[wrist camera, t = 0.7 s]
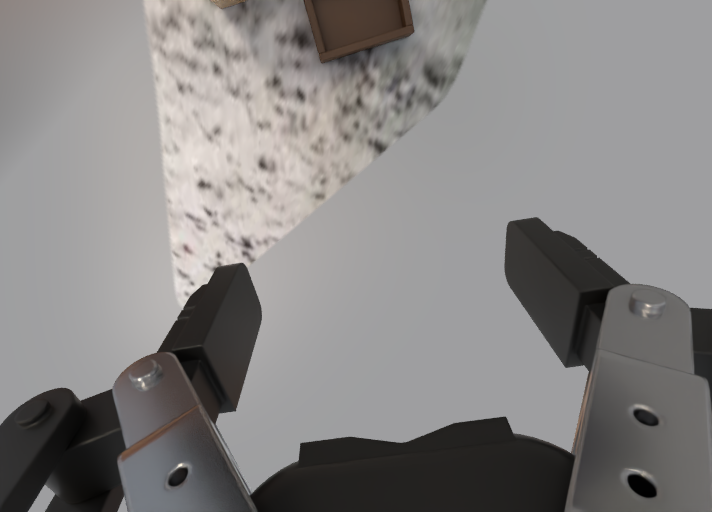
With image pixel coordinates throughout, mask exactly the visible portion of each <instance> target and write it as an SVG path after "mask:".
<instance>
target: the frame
mask: <svg viewBox="0 0 712 512" xmlns="http://www.w3.org/2000/svg"><path fill="white" fill-rule="evenodd" d="M304 3H305V7H306V10H307V14H308V17H309V21H310V25H311V28H312V32H313V35H314V39H315V42H316V46H317V49H318V53H319V56H320V60H321V63H325V62H328V61H331V60H335V59H338V58H341V57H344V56H347V55H351V54H354V53H357V52H360V51H363V50H367V49H370V48H373V47H376V46H379V45H383V44H386V43H389V42H392V41H395V40H399V39H402V38H405V37H408V36H410V35H411V34H413V33H414V27H413V25H412V24H413V22H412V16H411V11H410V5H409V0H304Z"/></svg>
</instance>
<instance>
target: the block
mask: <svg viewBox="0 0 712 512" xmlns="http://www.w3.org/2000/svg"><path fill="white" fill-rule="evenodd" d="M211 1H212V2H213V3H214V4H216V5H217V6H218V7H219V8H221V9H223V8H226V7H229V6H232V5H235V4H238V3H241V2H244V1H247V0H211Z"/></svg>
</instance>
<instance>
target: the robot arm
mask: <svg viewBox="0 0 712 512" xmlns="http://www.w3.org/2000/svg"><path fill="white" fill-rule="evenodd" d="M505 250H506V251H505V275H506V279H507V282H508V284H509V286H510V288H511V289H512V290H513V292H514V294H515V295H516V296H517V298H518V299H519V301H520V302H521V304H522V305H523V307H524V308H525V309H526V311H527V312H528V314H529V315H530V317H531V318H532V320H533V321H534V323H535V324H536V325H537V327H538V328H539V330H540V331H541V333H542V334H543V335H544V337H545V339H546V340H547V341H548V343H549V344H550V346H551V347H552V349H553V350H554V352H555V353H556V355H557V356H558V357H559V359H560V360H561V362H562V363H563V365H564V366H565V367H566V368H568V367H575V366H581V365H585V367H586V368H587V369H588V371H589V374H588V378H587V382H586V387H585V391H584V396H583V401H582V406H581V410H580V415H579V420H578V424H577V429H576V433H575V438H574V443H573V447H572V451H571V453H570V452H568V451H566V450H564V449H562V448H560V447H558V446H556V445H554V444H551V443H549V442H546V441H543V440H540V439H537V438H534V437H530V436H525V435H521V434H513V432H512V430H511V428H510V425H509V423H508V420H507V418H506V417H499V418H491V419H483V420H475V421H467V422H460V423H454V424H451V425H449V426H446V427H444V428H441V429H439V430H436V431H434V432H432V433H429V434H426V435H424V436H421V437H419V438H416V439H414V440H411V441H409V442H404V443H396V442H388V441H380V440H371V439H364V438H356V437H345V438H336V439H329V440H321V441H313V442H306V443H301V444H300V454H299V461H298V462H295V463H292V464H291V465H289V466H287V467H285V468H283V469H281V470H280V471H278V472H277V473H275V474H274V475H272V476H271V477H269V478H268V479H267V480H266V481H265V482H263V483H262V484H261V485H260V486H259V487H258V488H257V489H256V490H255V491H254V492H252V490H251V488H250V487H249V485H248V483H247V482H246V480H245V478H244V476H243V474H242V472H241V470H240V468H239V467H238V465H237V463H236V461H235V459H234V457H233V455H232V454H231V452H230V450H229V448H228V446H227V444H226V443H225V441H224V439H223V437H222V435H221V433H220V431H219V430H218V428H217V426H216V420H217V418H218V414H219V413H226V412H233V411H236V408H237V405H238V401H239V398H240V394H241V391H242V387H243V384H244V380H245V377H246V373H247V370H248V366H249V363H250V359H251V356H252V352H253V349H254V345H255V342H256V339H257V335H258V331H259V328H260V325H261V320H262V311H261V305H260V302H259V299H258V296H257V294H256V291H255V288H254V286H253V283H252V280H251V277H250V275H249V272H248V269H247V267H246V266H245V264H243V263H238V264H231V265H225V266H219V267H217V268H216V270H215V271H214V273H213V275H212V277H211V279H210V280H209V282H208V284H205V285H202V286H201V287H200V288H199V289H198V290H197V291H196V292H194V293H193V294H192V295H191V296H190V298H189V299H188V301H187V303H186V304H185V306H184V308H183V309H184V310H182V311H181V313H180V315H179V316H178V320H177V321H175V323H174V325H173V326H172V328H171V330H170V331H169V333H168V335H167V336H166V338H165V340H164V341H163V343H162V345H161V346H160V348H159V350H158V351H157V353H154V354H151V355H149V356H146V357H143V358H141V359H140V360H138V361H136V362H134V363H133V364H132V365H130V366H129V367H128V368H127V369H125V370H124V372H122V373H121V374H120V376H119V377H118V378H117V380H116V381H115V383H114V386H113V389H111V390H108V391H106V392H103V393H100V394H97V395H95V396H92V397H89V398H87V399H84V400H81V401H80V400H79V399H78V398H77V397H76V395H75V394H74V393H73V392H72V391H71V390H70V389H67V388H57V389H53V390H49V391H46V392H44V393H42V394H39V395H37V396H35V397H33V398H32V399H30V400H29V401H27V402H25V403H24V404H22V405H21V406H20V407H18V408H17V409H16V410H15V411H14V412H12V413H11V414H10V415H9V416H8V417H7V418H6V419H5V420H4V422H3V423H2V424H1V425H0V512H28V510H29V509H30V507H31V506H32V504H33V502H34V501H35V499H36V498H37V496H38V494H39V493H40V491H41V489H42V488H43V486H44V485H46V486H47V487H48V488H50V489H51V490H52V491H53V492H54V493H55V496H54V497H53V499H52V501H51V502H50V504H49V506H48V508H47V509H46V511H45V512H117V511H118V509H119V506H120V504H121V502H122V499H123V497H124V496H125V500H126V505H127V510H128V512H712V309H700V308H689V306H688V305H687V304H686V303H685V302H684V301H683V300H682V299H681V298H680V297H678V296H676V295H675V294H673V293H671V292H669V291H666V290H663V289H661V288H657V287H654V286H649V285H642V284H630V283H629V282H628V281H626V280H625V279H624V278H623V277H622V276H620V275H619V274H618V273H617V272H616V271H614V270H613V269H612V268H611V267H610V266H608V265H607V264H606V263H605V262H604V261H602V260H601V259H600V258H597V255H595V254H594V253H593V252H592V251H591V250H587V247H586V246H584V245H583V244H582V243H581V242H580V241H579V240H577V239H576V238H574V237H572V236H570V235H567V234H565V233H563V232H560V231H552V230H551V229H550V228H549V227H548V226H547V225H546V224H545V223H543V222H542V221H541V220H540V219H539V218H537V217H535V218H529V219H522V220H516V221H510V222H509V223H508V225H507V233H506V249H505Z"/></svg>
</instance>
